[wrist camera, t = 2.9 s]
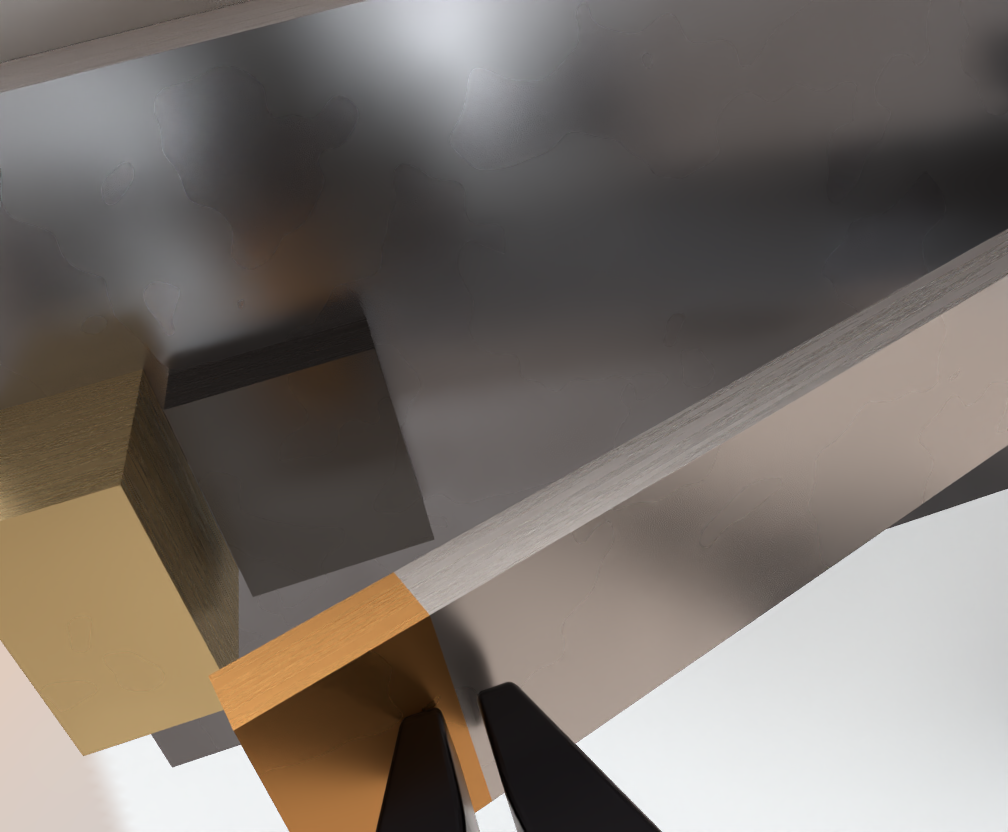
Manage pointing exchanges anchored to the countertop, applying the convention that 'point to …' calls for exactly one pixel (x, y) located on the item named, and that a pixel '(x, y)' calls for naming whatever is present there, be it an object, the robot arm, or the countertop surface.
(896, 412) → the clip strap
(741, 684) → the countertop surface
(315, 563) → the grey lever base
